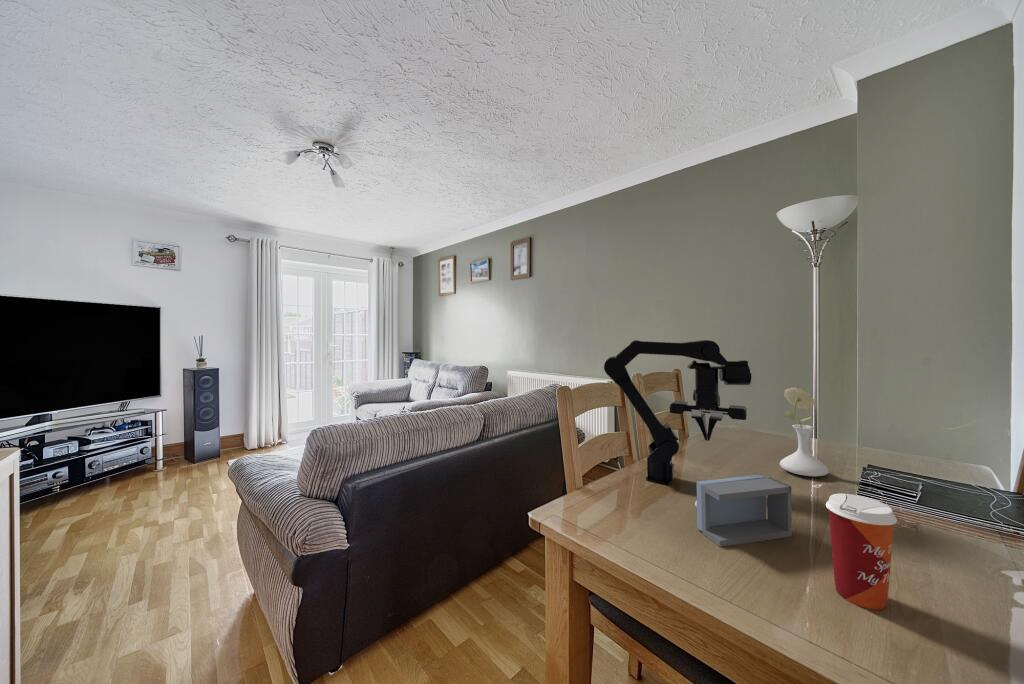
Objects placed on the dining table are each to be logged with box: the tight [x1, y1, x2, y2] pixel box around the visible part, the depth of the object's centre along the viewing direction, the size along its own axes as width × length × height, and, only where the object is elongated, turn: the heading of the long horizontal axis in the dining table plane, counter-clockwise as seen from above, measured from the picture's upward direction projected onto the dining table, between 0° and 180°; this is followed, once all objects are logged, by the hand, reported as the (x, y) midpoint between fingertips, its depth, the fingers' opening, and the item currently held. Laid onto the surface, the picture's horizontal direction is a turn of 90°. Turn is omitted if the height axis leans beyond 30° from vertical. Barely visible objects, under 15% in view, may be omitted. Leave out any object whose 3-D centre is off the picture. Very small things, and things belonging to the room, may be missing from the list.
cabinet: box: [701, 477, 793, 548], centre depth 77 cm, size 5×17×10 cm, turn 100°
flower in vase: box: [779, 386, 830, 478], centre depth 110 cm, size 13×11×25 cm
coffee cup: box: [825, 493, 898, 611], centre depth 59 cm, size 8×8×15 cm
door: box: [694, 474, 767, 532], centre depth 81 cm, size 3×17×10 cm, turn 101°
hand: (707, 440), depth 104 cm, fingers closed
